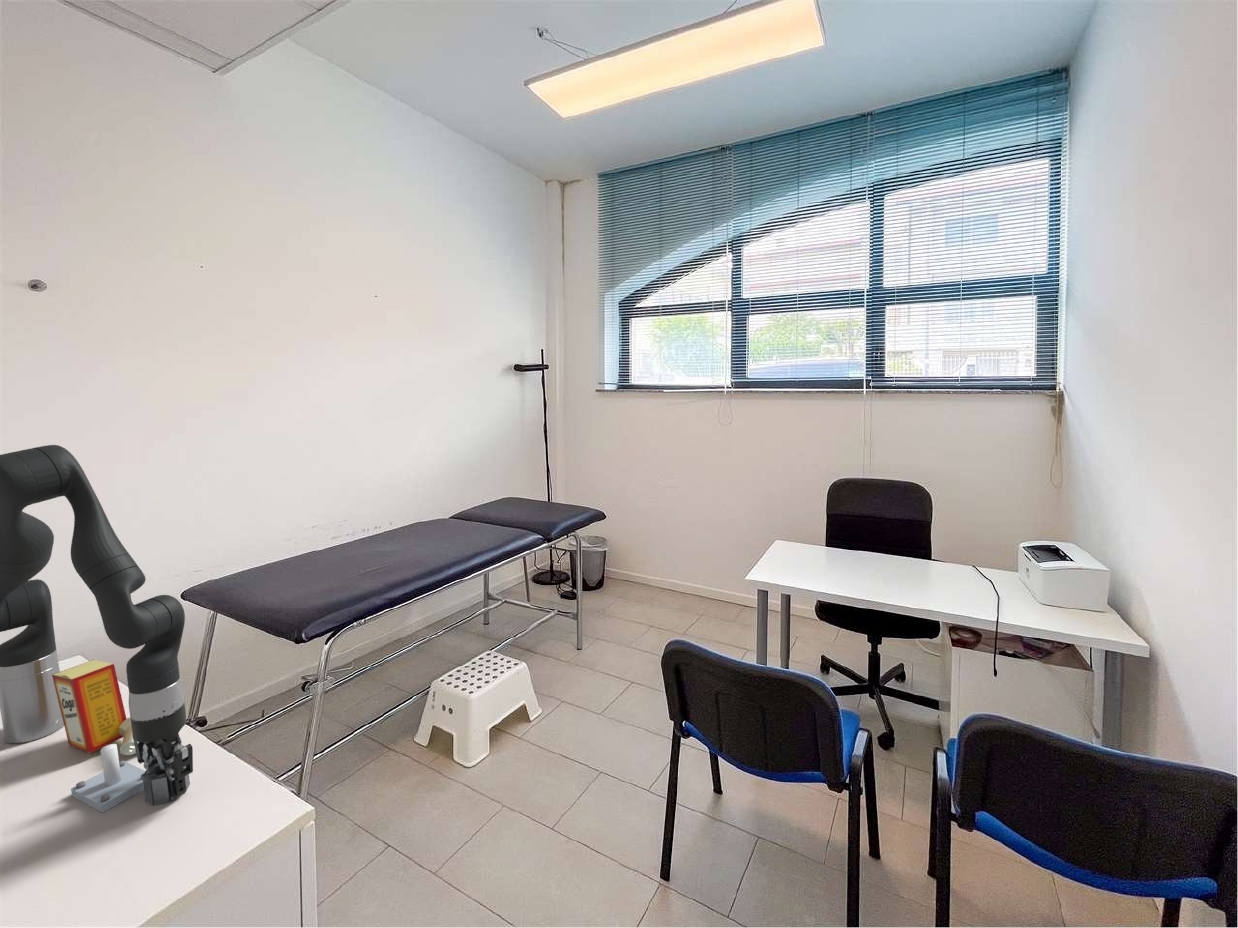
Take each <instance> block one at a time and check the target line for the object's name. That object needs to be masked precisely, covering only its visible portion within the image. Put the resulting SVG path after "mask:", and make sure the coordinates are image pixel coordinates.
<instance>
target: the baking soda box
mask: <svg viewBox="0 0 1238 928" xmlns="http://www.w3.org/2000/svg"><path fill="white" fill-rule="evenodd" d="M52 677H53V681H54V685H55V690H56V694H57V698H58V702H59V706H60V710H61V714H62V718H63V723H64V726H63V727H64V730H65V734H66V738H67V741H68V742H67V743H68V746H69V747H72V748H75V749H78V750H80V751H82V752H86V753H89V754H91V753H93V752H95V751H98V750H99V749H100V750H101V749H102V748H103V747H105V746H107V745H110V744H113V743H115V742H116V741H118V740H120V739H123V738H124V737H123V736H121V735H119V726H120V725H121V724H122V723H123V722H124V721H125V720H126V719H127V715H126V711H125V706H124V703H123V701H124V700H123V697H122V694H121V693H122V692H121V689H120V688H121V687H120V685H119V680H118V676H117V671H116V667H115V664H114V663H111V662H105V661H101V660H94V659H92V660H89V661H86V662H84V663H81V664H78V665H75V666H72V667H70V668H67V669H64V670H60V672H58V673H55V674H53V675H52Z"/></svg>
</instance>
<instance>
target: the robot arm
mask: <svg viewBox="0 0 1238 928" xmlns="http://www.w3.org/2000/svg"><path fill="white" fill-rule="evenodd" d="M61 497H65V499H67V501H68V503H69V504H70V506H71V508H72V511H73V515H74V517H73V518H74V519H73V520H74V523H73V533H72V538H71V545H70V559H71V564H72V565H73V568H74V570H75V572H76V573H77V574H78V576H79V577H80V578H81V580H82V581H83V582H84V584H85V585H86V587H88V589H89V591H90V592H91V593H92V594H93V595H94V598H95V600H96V604H97V608H98V610H99V614H100V616H101V620H102V625H103V627H104V632H105V634H106V636H107V637H108V639H109V640H110V641H111V643H112V644H114V645H116V646H117V647H120V648H122V649H126V650H127V649H128V650H130V649H136V648H139V647H140V650H139V651H138V652H136V653H135V654H134V655H133V656H131V658H129V659H128V661H127V662H126V667H125V668H126V670H125V671H126V679H127V687H128V711H129V717H130V719H131V726H132V734H133V735H132V736H133V741H134V745H135V750H136V753H135V755H136V758H137V763H139V764H143V769H144V770H145V771H146V770H147V768H149V767H150V766H152V765H154V764H155V763H157V762H158V763H159V765H160V768H161V770H165V771H166V773H167V776H168V779H169V788H170V796H171V797H172V798H176V797H177V798H179V797H180V795H181V794H182V795H184V794H185V793H186V792H187V791H186V782H185V776H187V775H188V774H189V775H190V774H193V772H194V764H193V763H194V760H193V759H194V755H193V752H194V751H193V745H192V744H191V743H188V744H186V745H183V744H182V743H183V741H182V739H181V737H180V731H181V730H182V729H183V728H184V726H185V725H186V723H187V711H186V704H185V703H186V702H185V696H184V695H185V694H184V688H183V687H184V686H183V683H182V680H181V675H180V668H179V660H178V656H179V651H180V648H181V643H182V638H183V633H184V629H185V623H186V622H185V621H186V614H185V610H184V607H183V605H182V603H181V602H180V600H178V599H177V598H176V597H174V596H172V595H168V594H159V595H155V596H152V597H150V598H147V599H145V600H143V601H141V602H138V603H136V604H134V603H133V601H132V595H131V594H132V593H135V592H136V591H138V589H140V588H141V587H142V586H144V584H145V582H146V579H147V578H146V575H145V573H144V571H142V569H141V568H140V567H139V565H138V564H137V562H136V561H135V559H134V558H133V556H131V554H130V553H129V552H128V550H127V549H126V548H125V546H124V545H123V544H122V542H121V540H120V539H119V537H118V535H117V534H116V532H115V530H114V529H113V527H112V525H111V522H110V521H109V519H108V516H107V514H106V512H105V511H104V509H103V506H102V504H101V502H100V500H99V498H98V496H97V494H96V492H95V491H94V489H93V487H92V485H91V483H90V480H89V479H88V477H87V475H86V473H85V471H84V469H83V468H82V466H81V465H80V463H79V461H78V460H77V459H76V457H75V456H74V455H73V454H72V453H71V452H70V451H69V450H68V449H66V448H65V447H63V446H60V445H57V444H47V445H42V446H37V447H32V448H26V449H22V450H17V451H12V452H7V453H3V454H0V633H1V632H7V631H10V630H15V629H19V628H22V627H25V628H24V629H23V630H22V631H21V632H19V633H18V634H16V635H15V636H13V637H12V638H10V639H8V640H6V641H4V642H2V643H1V644H0V717H1V724H2V729H3V730H2V731H3V734H4V740H5V742H6V743H8V744H22V743H28V742H31V741H34V740H39V739H42V738H44V737H46V736H49V735H51V734H53V733H55V732H57V731H58V730H60V729H61V728H63V727H64V723H63V718H62V714H61V710H60V706H59V702H58V698H57V694H56V690H55V685H54V681H53V677H52V675H53V674H55V673H58V672H61V670H60V663H59V657H58V652H57V650H58V649H57V644H56V634H55V629H54V619H53V618H54V617H53V616H54V615H53V600H52V595H51V590H50V588H49V585H47V583H46V582H45V581H44V580H42V579H37V578H36V579H33V578H34V577H36V575H38V574H39V573H40V572H42V570H43V569H44V568H45V567H46V566H47V565H48V564H49V561H50V560H51V557H52V554H53V553H52V552H53V548H54V542H55V535H54V533H53V530H52V529H51V528H50V526H49V525H48V524H47V523H45V522H44V521H43V520H41V519H39V518H37V517H36V516H34V515H31V514H29V513H26V512H25V511H23V510H25V508H27V507H29V506H31V505H34V504H39V503H42V502H45V501H49V500H53V499H56V498H61ZM141 647H142V648H141ZM171 758H172V759H173V761H171V762H169V763H166V761H167V760H169V759H171ZM172 766H174V773H173V770H172ZM185 791H186V792H185ZM184 792H185V793H184ZM183 793H184V794H183ZM182 795H181V796H182ZM178 796H179V797H178ZM177 798H176V799H177Z"/></svg>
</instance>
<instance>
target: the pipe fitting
mask: <svg viewBox="0 0 1238 928" xmlns="http://www.w3.org/2000/svg"><path fill="white" fill-rule="evenodd" d="M119 735H121V736H123V738H122V742H121V744H120V748H119V752H120V754H121V755H124V756H132V755H136V750H135V745H134V741H133V736H132V735H133V734H132V726H131V719H130V716H129V717H126V720H125V721H124V722H123V723H122V724H121V725H120V726H119Z"/></svg>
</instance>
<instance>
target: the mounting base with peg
mask: <svg viewBox="0 0 1238 928" xmlns="http://www.w3.org/2000/svg"><path fill="white" fill-rule="evenodd" d="M117 745H118V744H116V743H110V744H108V745H106V746H104V747H102V748H100V750H99V752H100V757H101V763H102V764H101V765H102V771H101V772H100V773H98V774H96V775H94V776H91V778H88V779H87V780H81V781H79V782H77V783H76V784H75V785H74V786H73V787H71V788H70V791H71V796H72V797H73V798H75V799H77V800H79V801H81V802H82V803H83V804H86V805H88V806H90V808H91V807H92V808H93V809H95V810H97V812H100V813H102V814H104V813H105V812H107V811H108V810H111V808H114V807H115V806H116V805H118V804H121V803H122V802H123V801H125V800H127V799H129V798H131V797H133V796H134V795H137V793H140V792H142V791H143V790H144V785H143V778H142V776H143V774H144V773H145V771H146V770H145V769H142V768H140V767H138V766H136V765H133V764H131V763H129V762H128V761H125V760H120V759H119V752H118V746H117Z"/></svg>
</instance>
